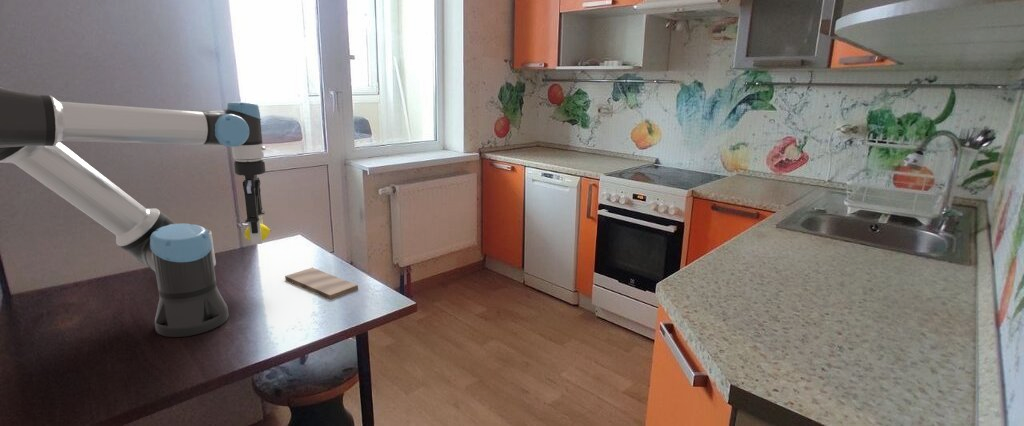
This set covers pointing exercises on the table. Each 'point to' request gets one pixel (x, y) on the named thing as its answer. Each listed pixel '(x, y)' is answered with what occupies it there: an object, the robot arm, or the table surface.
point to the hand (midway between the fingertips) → (257, 240)
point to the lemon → (264, 232)
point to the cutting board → (321, 283)
